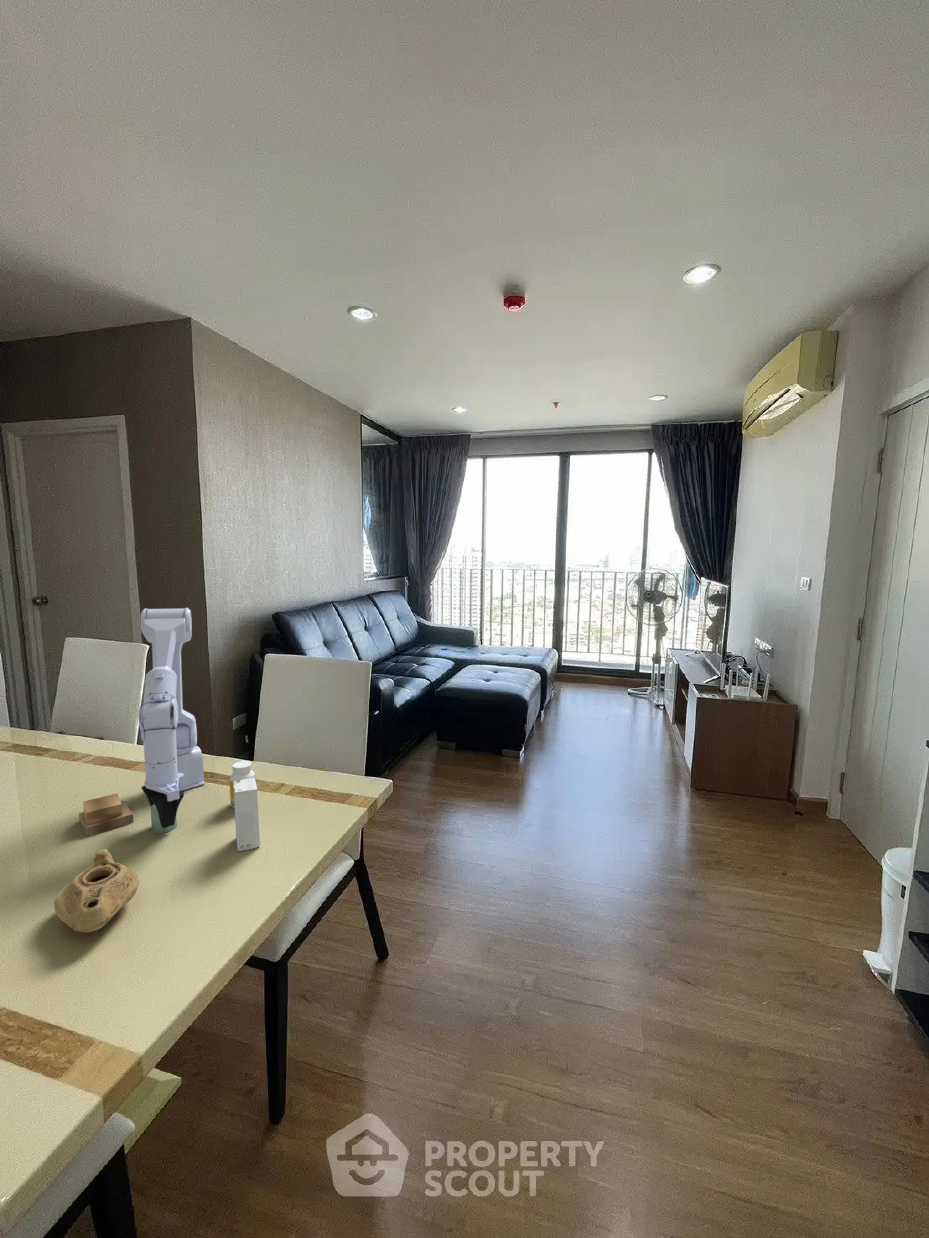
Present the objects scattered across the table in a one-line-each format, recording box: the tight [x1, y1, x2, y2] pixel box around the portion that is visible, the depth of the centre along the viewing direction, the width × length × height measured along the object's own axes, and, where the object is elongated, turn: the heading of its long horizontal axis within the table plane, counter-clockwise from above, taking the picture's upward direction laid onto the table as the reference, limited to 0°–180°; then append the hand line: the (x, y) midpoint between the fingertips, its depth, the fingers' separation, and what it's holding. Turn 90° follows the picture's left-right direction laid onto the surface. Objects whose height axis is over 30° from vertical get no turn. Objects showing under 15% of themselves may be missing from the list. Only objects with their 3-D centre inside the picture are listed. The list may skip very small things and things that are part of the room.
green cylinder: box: [150, 804, 178, 835], centre depth 106 cm, size 4×4×5 cm
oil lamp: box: [53, 848, 140, 933], centre depth 80 cm, size 11×15×8 cm
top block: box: [82, 793, 122, 824], centre depth 108 cm, size 6×6×2 cm
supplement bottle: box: [229, 760, 256, 809], centre depth 117 cm, size 5×5×10 cm
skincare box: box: [233, 777, 261, 852], centre depth 101 cm, size 6×4×12 cm
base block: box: [78, 800, 134, 837], centre depth 108 cm, size 8×8×2 cm
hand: (164, 821), depth 106 cm, fingers closed on green cylinder, 4 cm apart
